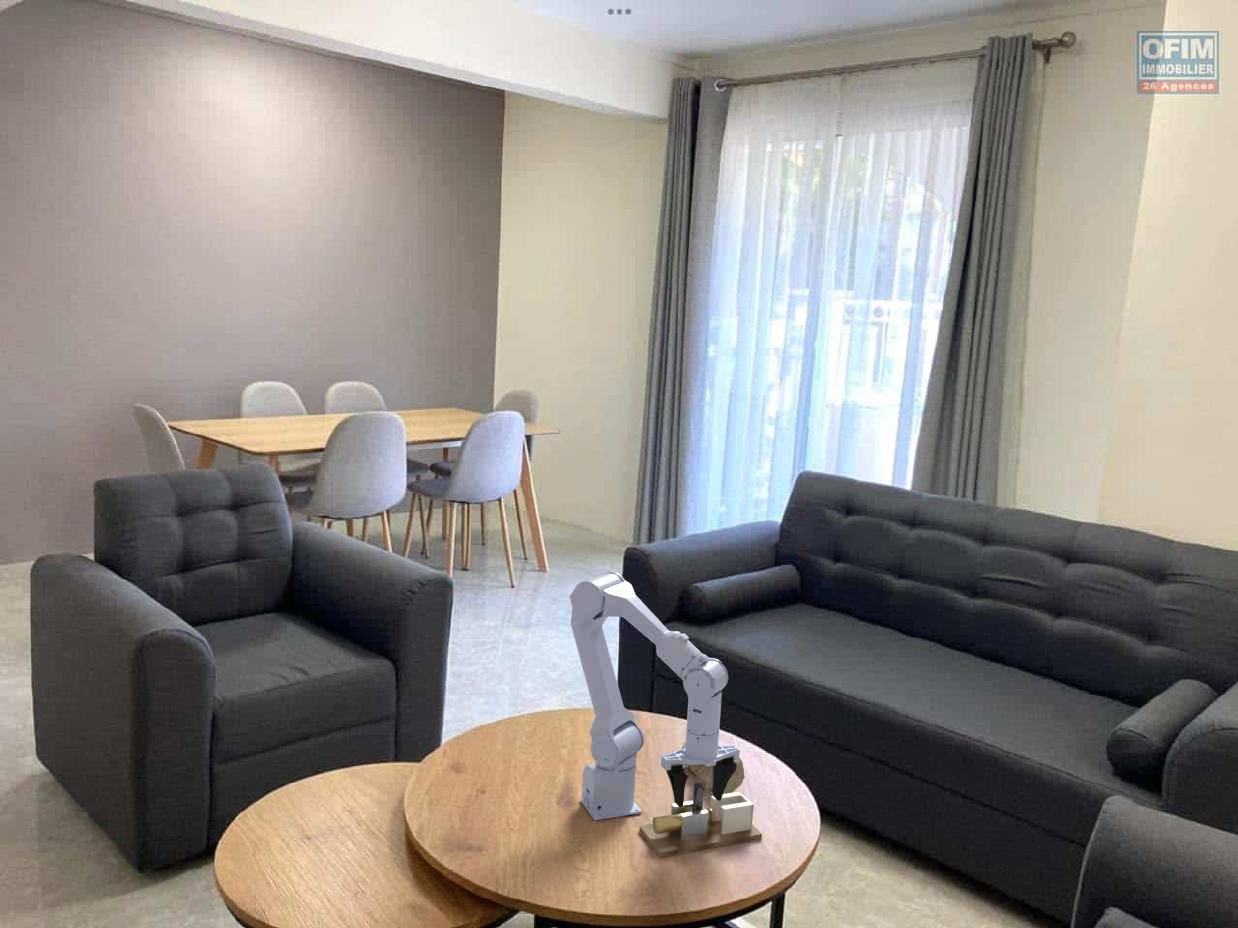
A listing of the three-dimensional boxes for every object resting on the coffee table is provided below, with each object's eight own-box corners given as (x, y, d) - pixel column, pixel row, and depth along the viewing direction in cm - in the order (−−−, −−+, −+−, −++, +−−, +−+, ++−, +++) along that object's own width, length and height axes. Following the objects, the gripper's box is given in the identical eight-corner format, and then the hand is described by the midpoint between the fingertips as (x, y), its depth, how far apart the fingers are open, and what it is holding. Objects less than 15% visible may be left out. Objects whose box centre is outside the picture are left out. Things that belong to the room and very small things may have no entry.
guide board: (660, 857, 170) (662, 827, 169) (639, 831, 178) (641, 802, 178) (761, 838, 178) (764, 809, 177) (737, 814, 186) (739, 786, 185)
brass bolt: (658, 837, 173) (661, 791, 172) (652, 829, 176) (654, 783, 174) (714, 827, 177) (718, 782, 176) (707, 819, 180) (710, 775, 179)
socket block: (722, 834, 177) (724, 809, 176) (709, 820, 181) (710, 795, 181) (751, 829, 179) (753, 804, 178) (738, 815, 184) (739, 791, 183)
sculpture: (694, 790, 188) (730, 751, 189) (667, 748, 205) (701, 712, 205) (723, 815, 191) (759, 777, 192) (695, 772, 208) (728, 737, 208)
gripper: (675, 743, 168) (670, 818, 170) (750, 733, 174) (744, 805, 176) (658, 726, 175) (653, 798, 177) (730, 717, 180) (725, 787, 182)
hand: (697, 801), depth 177 cm, fingers open, 7 cm apart
